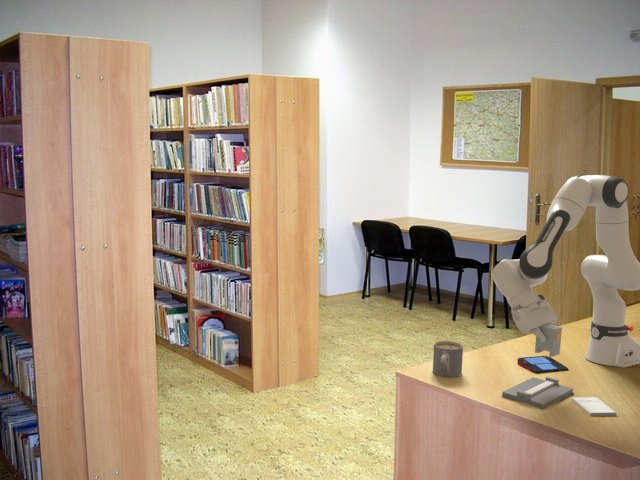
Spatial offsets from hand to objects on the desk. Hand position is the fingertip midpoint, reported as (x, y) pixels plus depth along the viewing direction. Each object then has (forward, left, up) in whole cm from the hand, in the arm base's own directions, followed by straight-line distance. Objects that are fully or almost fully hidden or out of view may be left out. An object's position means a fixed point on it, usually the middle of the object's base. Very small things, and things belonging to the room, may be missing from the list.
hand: (550, 339), depth 219 cm
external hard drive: (-5, +16, -18) cm, 25 cm away
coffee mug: (+24, -24, -18) cm, 38 cm away
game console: (-14, -21, -18) cm, 31 cm away
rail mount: (+5, +2, -17) cm, 18 cm away
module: (0, -1, -5) cm, 5 cm away
